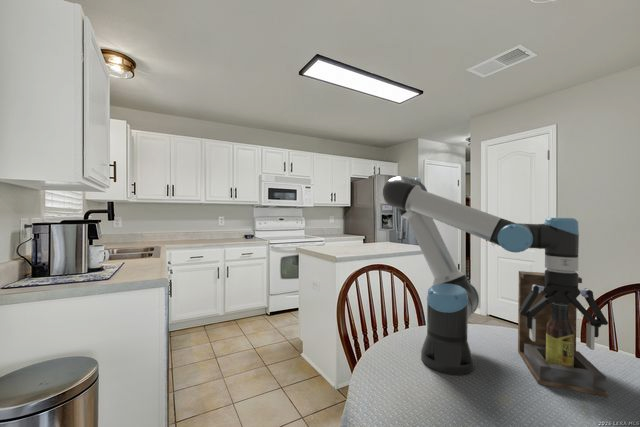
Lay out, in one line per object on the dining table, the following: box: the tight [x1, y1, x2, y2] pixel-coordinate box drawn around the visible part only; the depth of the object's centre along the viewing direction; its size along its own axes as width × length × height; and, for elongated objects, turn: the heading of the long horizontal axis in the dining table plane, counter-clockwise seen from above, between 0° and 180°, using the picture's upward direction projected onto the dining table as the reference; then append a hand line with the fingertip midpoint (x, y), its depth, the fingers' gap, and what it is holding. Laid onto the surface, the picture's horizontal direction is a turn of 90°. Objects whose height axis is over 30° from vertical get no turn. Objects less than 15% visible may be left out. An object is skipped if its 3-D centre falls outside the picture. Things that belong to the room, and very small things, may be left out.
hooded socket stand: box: [517, 270, 609, 398], centre depth 86 cm, size 15×20×28 cm
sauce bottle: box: [546, 302, 574, 368], centre depth 84 cm, size 6×6×20 cm
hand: (560, 343), depth 84 cm, fingers open, 13 cm apart
